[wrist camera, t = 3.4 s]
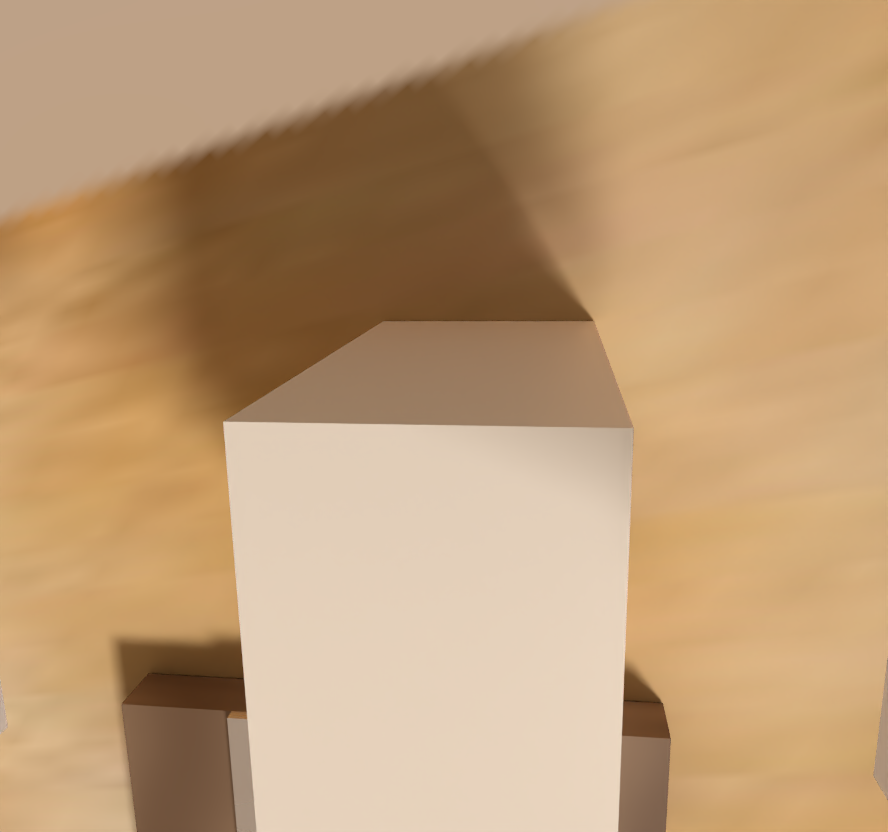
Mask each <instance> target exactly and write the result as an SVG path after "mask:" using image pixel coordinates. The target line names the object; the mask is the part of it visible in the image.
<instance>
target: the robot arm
mask: <svg viewBox="0 0 888 832" xmlns="http://www.w3.org/2000/svg"><path fill="white" fill-rule="evenodd" d="M7 727H8V726H7V719H6V713H5V707H4V701H3V694H2V688H1V682H0V734H1V733H2V732H3V731H4V730H5V729H6V728H7ZM873 776H874V778H875V780H876V781H877V783H878V785H879V786H880V788H881V790H882V791H883V793H884V795H885V796H886V798H887V800H888V660H887V668H886V676H885V684H884V693H883V701H882V709H881V717H880V726H879V734H878V742H877V750H876V759H875V767H874V775H873Z"/></svg>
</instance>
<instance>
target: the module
mask: <svg viewBox="0 0 888 832" xmlns="http://www.w3.org/2000/svg"><path fill="white" fill-rule="evenodd" d="M223 425H224V438H225V450H226V462H227V474H228V487H229V499H230V511H231V524H232V536H233V548H234V560H235V573H236V585H237V597H238V610H239V622H240V634H241V646H242V659H243V671H244V683H245V696H246V708H247V720H248V732H249V745H250V757H251V769H252V782H253V794H254V806H255V818H256V831H257V832H618V821H619V795H620V769H621V744H622V718H623V692H624V666H625V640H626V615H627V589H628V563H629V537H630V512H631V486H632V460H633V434H634V428H633V425H632V422H631V420H630V417H629V414H628V411H627V409H626V406H625V403H624V401H623V398H622V395H621V393H620V390H619V387H618V384H617V382H616V379H615V376H614V374H613V371H612V368H611V366H610V363H609V360H608V357H607V355H606V352H605V349H604V347H603V344H602V341H601V339H600V336H599V333H598V330H597V328H596V325H595V322H594V321H383V322H381V323H379V324H378V325H376V326H375V327H373V328H371V329H370V330H368V331H367V332H365V333H364V334H362V335H360V336H359V337H357V338H356V339H354V340H352V341H351V342H349V343H348V344H346V345H344V346H343V347H341V348H340V349H338V350H336V351H335V352H333V353H332V354H330V355H329V356H327V357H325V358H324V359H322V360H321V361H319V362H317V363H316V364H314V365H313V366H311V367H309V368H308V369H306V370H305V371H303V372H301V373H300V374H298V375H297V376H295V377H293V378H292V379H290V380H289V381H287V382H286V383H284V384H282V385H281V386H279V387H278V388H276V389H274V390H273V391H271V392H270V393H268V394H266V395H265V396H263V397H262V398H260V399H258V400H257V401H255V402H254V403H252V404H251V405H249V406H247V407H246V408H244V409H243V410H241V411H239V412H238V413H236V414H235V415H233V416H231V417H230V418H228V419H227V420H225V421H223Z"/></svg>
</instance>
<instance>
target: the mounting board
mask: <svg viewBox="0 0 888 832" xmlns="http://www.w3.org/2000/svg"><path fill="white" fill-rule="evenodd" d="M122 711H123V719H124V728H125V736H126V744H127V752H128V761H129V769H130V777H131V785H132V794H133V802H134V810H135V818H136V827H137V832H237V826H236V814H235V803H234V791H233V780H232V769H231V757H230V746H229V735H228V723H227V717H228V716H229V714H230V713H231V711H237V712H247V708H246V696H245V683H244V679H234V678H217V677H200V676H182V675H165V674H148V675H147V676H146V677H145V678H144V679H143V681H142V682H141V683H140V684H139V685H138V686H137V687H136V689H135V690H134V691H133V692H132V693H131V694H130V695H129V696H128V698H127V699H126V700H125V701H124V702H123V703H122ZM670 743H671V738H670V733H669V729H668V724H667V720H666V715H665V711H664V706H663V703H650V702H632V701H623V718H622V744H621V769H620V795H619V821H618V832H666V816H667V798H668V780H669V761H670Z"/></svg>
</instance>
